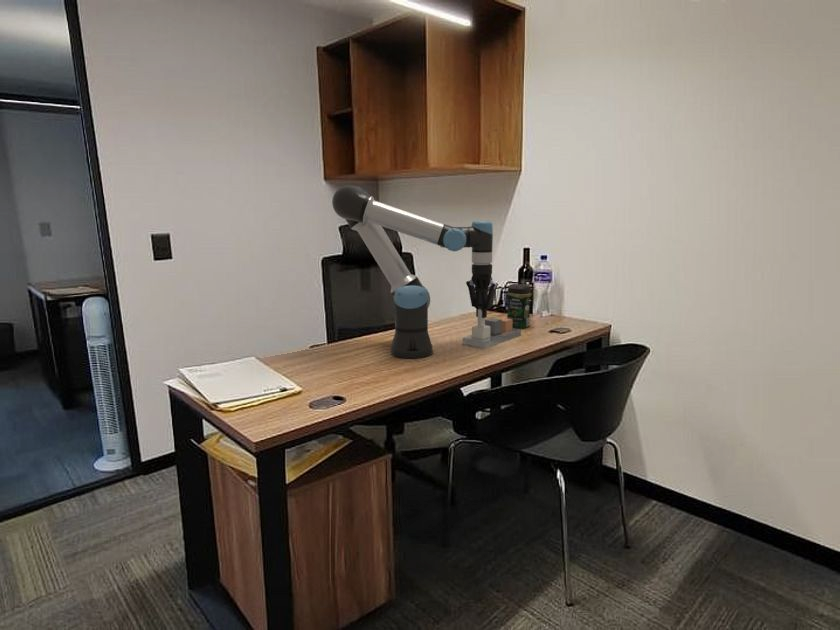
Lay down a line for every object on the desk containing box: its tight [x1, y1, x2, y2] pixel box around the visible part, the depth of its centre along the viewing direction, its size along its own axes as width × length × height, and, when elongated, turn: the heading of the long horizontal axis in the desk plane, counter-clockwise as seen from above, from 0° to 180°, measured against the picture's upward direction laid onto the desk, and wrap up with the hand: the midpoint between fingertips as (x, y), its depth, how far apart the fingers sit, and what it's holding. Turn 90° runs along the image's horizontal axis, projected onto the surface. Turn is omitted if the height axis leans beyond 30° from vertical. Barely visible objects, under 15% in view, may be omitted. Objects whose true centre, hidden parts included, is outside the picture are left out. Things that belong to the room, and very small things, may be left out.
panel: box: [462, 327, 522, 349], centre depth 202 cm, size 26×10×2 cm, turn 139°
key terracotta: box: [498, 317, 513, 332], centre depth 208 cm, size 5×5×5 cm
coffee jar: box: [506, 283, 532, 329], centre depth 222 cm, size 10×8×19 cm
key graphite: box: [485, 317, 502, 334], centre depth 201 cm, size 5×5×5 cm
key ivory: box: [471, 324, 490, 340], centre depth 196 cm, size 5×5×5 cm
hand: (481, 325), depth 195 cm, fingers closed
